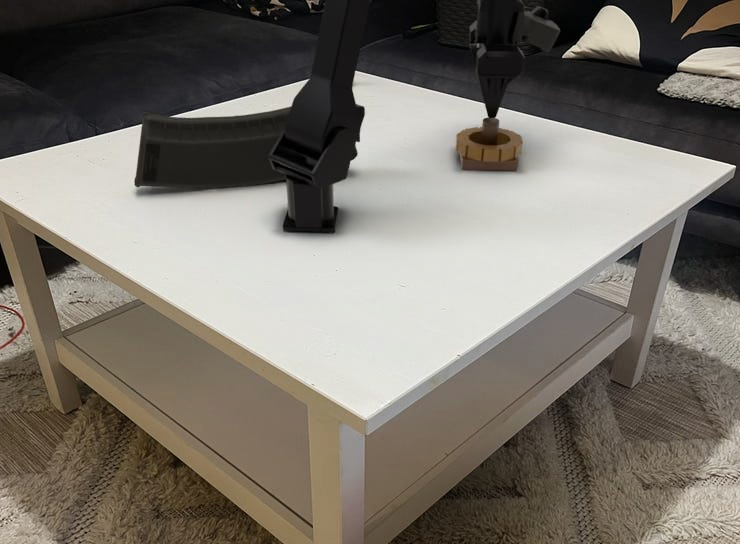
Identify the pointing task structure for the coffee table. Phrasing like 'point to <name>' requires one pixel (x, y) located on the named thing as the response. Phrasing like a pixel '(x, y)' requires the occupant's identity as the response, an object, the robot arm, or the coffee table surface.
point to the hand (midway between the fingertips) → (489, 107)
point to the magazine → (210, 150)
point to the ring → (488, 153)
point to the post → (489, 138)
